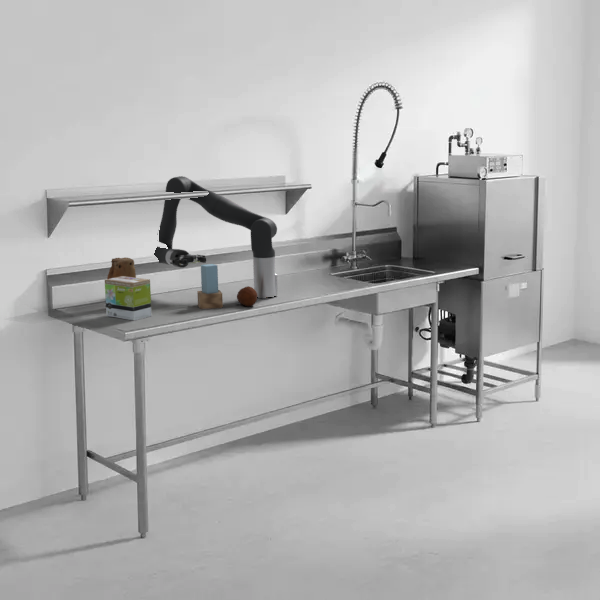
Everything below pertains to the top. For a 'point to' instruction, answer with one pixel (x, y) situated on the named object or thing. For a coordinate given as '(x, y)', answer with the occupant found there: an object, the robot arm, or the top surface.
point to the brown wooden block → (210, 300)
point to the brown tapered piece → (122, 268)
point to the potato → (247, 296)
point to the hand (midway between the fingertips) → (196, 261)
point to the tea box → (128, 298)
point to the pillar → (209, 278)
